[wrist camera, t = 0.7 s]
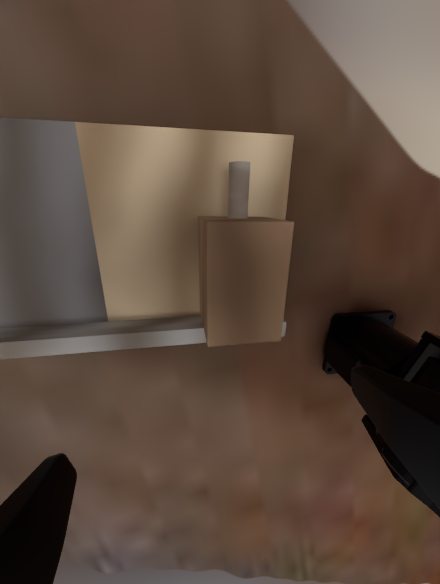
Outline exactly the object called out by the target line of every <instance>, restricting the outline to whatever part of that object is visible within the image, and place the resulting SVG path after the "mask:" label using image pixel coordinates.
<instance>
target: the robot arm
mask: <svg viewBox="0 0 440 584" xmlns="http://www.w3.org/2000/svg"><path fill="white" fill-rule="evenodd" d="M395 318H396V314H395V313H394V312H392V311H376V312H361V313H346V314H336V315H335V316H334V317H333V318H332V323H331V328H330V333H329V338H328V343H327V348H326V353H325V359H324V364H323V370H324V371H325V373H327V374H332V373H338V374H339V375H340V376H341V377H342V378H343V379H344V380H345V381H346V382H347V383H348V384H349V385H350V386H351V387H352V391H353V393H354V395H355V397H356V398H357V400H358V401H359V403H360V404H361V406H362V407H363V409H364V410H365V412H366V413H367V415H365V416H364V417H363V418H362V422H363V424H364V426H365V428H366V429H367V431H368V433H369V435H370V437H371V438H372V440H373V442H374V444H375V445H376V447H377V449H378V451H379V453H380V454H381V456H382V458H383V460H384V462H385V463H386V465H387V467H388V468H389V470H390V471H391V473H392V475H393V476H394V478H395V479H396V480H397V481H398V482H400V483H401V484H402V485H403V486H404V487H405V488H406V489H407V490H408V491H409V492H410V493H411V494H413V495H414V496H415V497H416V498H418V499H419V500H420V501H422V502H423V503H424V504H425V505H427V506H428V507H429V508H430V509H431V510H432V511H434V512H435V513H436V514H437V515H438V516H439V517H440V336H437V335H435V334H432V333H430V332H427V331H425V332H424V333H423V335H422V336H421V337H422V339H421V340H420V341H419V343H417V342H416V341H414V340H412V339H410V338H409V337H407V336H405V335H404V334H402V333H400V332H398V331H397V330H395V329H393V325H394V321H395ZM338 319H339V320H338ZM337 320H338V321H337ZM328 368H329V369H328ZM76 479H77V473H76V470H75V468H74V467H73V465H72V464H71V462H70V461H69V459H68V458H67V456H66V455H65V454H63V453H60V454H57V455H53V456H50V457H48V458H46V459H45V460H44V461H43V462H42V463H41V464H40V465H39V466H38V467H37V468H36V469H35V470H34V471H33V472H32V473H31V474H30V475H29V476H28V478H27V479H26V480H25V481H24V482H23V483H22V484H21V485H20V486H19V487H18V488H17V489H16V490H15V491H14V492H13V493H12V494H11V495H10V496H9V497H8V498H7V499H6V500H5V501H4V502H3V503H2V504H1V505H0V584H53V581H54V577H55V574H56V570H57V567H58V563H59V560H60V556H61V552H62V548H63V544H64V540H65V535H66V530H67V525H68V520H69V515H70V510H71V505H72V500H73V495H74V490H75V485H76Z"/></svg>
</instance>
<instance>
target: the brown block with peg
mask: <svg viewBox="0 0 440 584" xmlns="http://www.w3.org/2000/svg"><path fill="white" fill-rule="evenodd" d="M249 179H250V162H246V161H234V162H229V191H228V217H221V216H198V232H199V283H200V313H201V318H202V323H203V327H204V332H205V337H206V341H207V346H208V347H213V346H225V345H237V344H248V343H260V342H272V341H281V336H282V327H283V318H284V309H285V301H286V292H287V283H288V274H289V265H290V257H291V248H292V239H293V230H294V221H287V220H281V219H274V218H268V217H248V200H249Z"/></svg>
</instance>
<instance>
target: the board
mask: <svg viewBox="0 0 440 584" xmlns="http://www.w3.org/2000/svg"><path fill="white" fill-rule="evenodd" d="M293 139H294V135H281V134H265V133H249V132H232V131H216V130H199V129H183V128H167V127H150V126H134V125H118V124H101V123H85V122H68V121H52V120H36V119H19V118H3V117H0V359H11V358H24V357H36V356H48V355H61V354H73V353H85V352H97V351H110V350H122V349H134V348H147V347H159V346H171V345H184V344H196V343H207V341H206V337H205V332H204V327H203V323H202V318H201V313H200V283H199V232H198V216H221V217H228V191H229V162H234V161H246V162H250V179H249V200H248V217H268V218H274V219H281V220H285V218H286V209H287V199H288V189H289V179H290V169H291V159H292V149H293ZM285 330H286V321H285V320H284V319H283V327H282V336H285ZM282 336H281V337H282Z"/></svg>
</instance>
